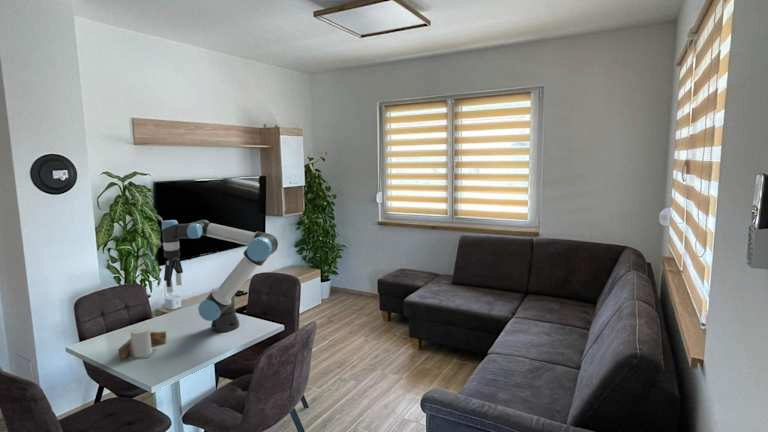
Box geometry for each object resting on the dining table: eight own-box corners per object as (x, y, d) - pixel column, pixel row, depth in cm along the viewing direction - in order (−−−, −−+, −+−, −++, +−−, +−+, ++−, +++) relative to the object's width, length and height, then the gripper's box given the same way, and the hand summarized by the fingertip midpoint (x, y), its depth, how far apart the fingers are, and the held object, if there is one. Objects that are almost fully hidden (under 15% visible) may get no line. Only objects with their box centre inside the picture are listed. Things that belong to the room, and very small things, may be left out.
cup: (155, 350, 210) (153, 327, 209) (143, 357, 202) (141, 333, 201) (141, 349, 212) (139, 326, 210) (128, 356, 204) (126, 332, 202)
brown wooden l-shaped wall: (166, 342, 221) (165, 331, 220) (150, 359, 201) (149, 347, 200) (138, 343, 219) (137, 332, 218) (119, 361, 199) (118, 349, 199)
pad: (157, 349, 212) (157, 348, 212) (148, 357, 202) (148, 357, 202) (136, 350, 211) (135, 350, 211) (126, 359, 201) (126, 358, 201)
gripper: (172, 245, 233) (175, 282, 236) (154, 254, 209) (158, 296, 211) (187, 244, 234) (189, 282, 237) (170, 254, 210) (173, 295, 212)
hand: (174, 288), depth 224 cm, fingers open, 13 cm apart
